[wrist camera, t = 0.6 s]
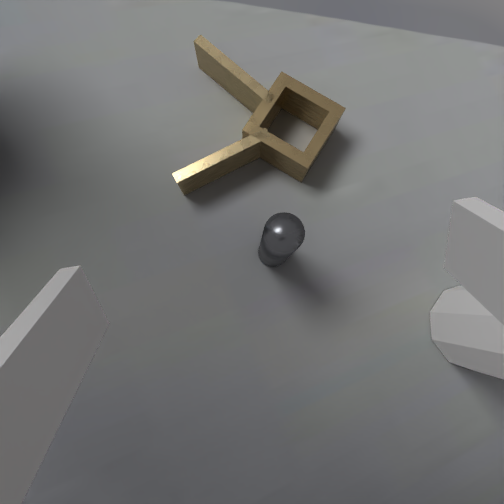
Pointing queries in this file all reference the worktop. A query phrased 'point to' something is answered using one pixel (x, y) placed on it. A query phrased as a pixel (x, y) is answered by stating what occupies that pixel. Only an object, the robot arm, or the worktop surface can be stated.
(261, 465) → the worktop surface
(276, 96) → the tan piece
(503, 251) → the robot arm
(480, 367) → the toilet paper
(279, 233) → the hinge pin
